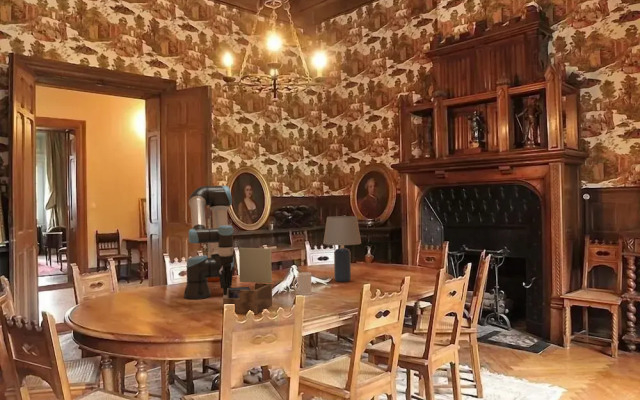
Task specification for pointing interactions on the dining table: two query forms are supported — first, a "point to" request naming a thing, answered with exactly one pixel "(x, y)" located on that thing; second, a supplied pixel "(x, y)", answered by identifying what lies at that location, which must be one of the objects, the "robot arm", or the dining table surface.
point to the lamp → (342, 243)
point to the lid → (255, 265)
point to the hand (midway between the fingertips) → (226, 300)
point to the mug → (303, 283)
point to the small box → (236, 291)
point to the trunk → (252, 299)
